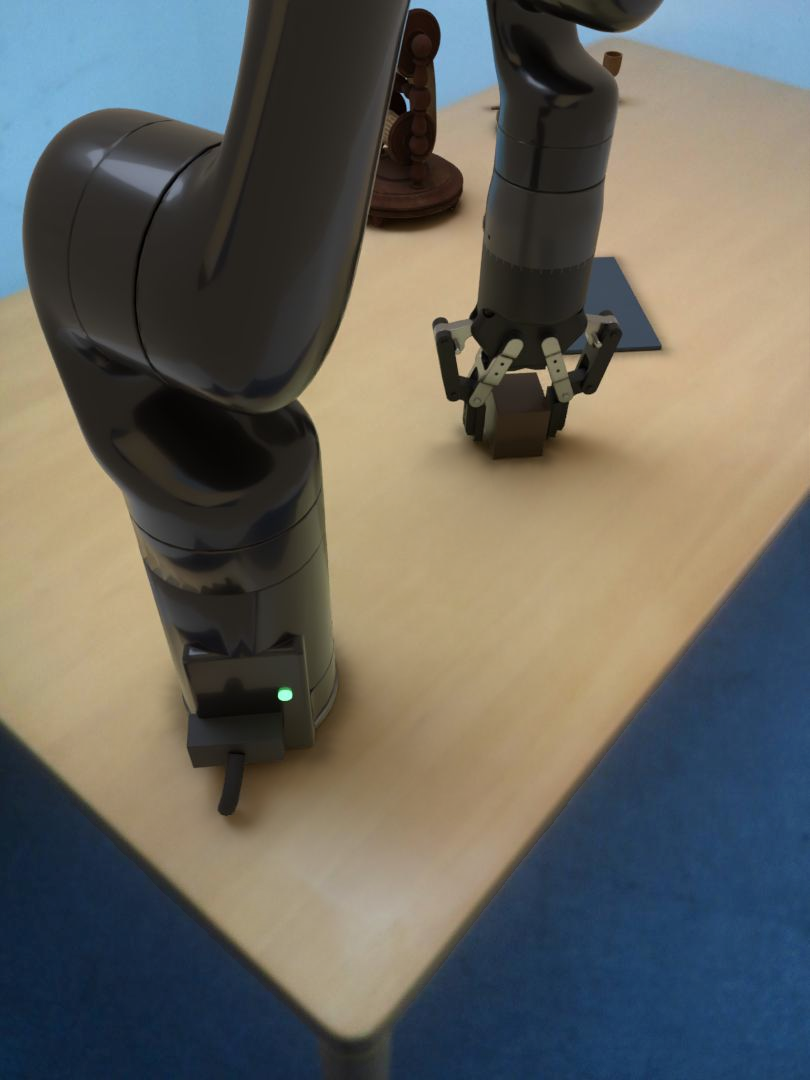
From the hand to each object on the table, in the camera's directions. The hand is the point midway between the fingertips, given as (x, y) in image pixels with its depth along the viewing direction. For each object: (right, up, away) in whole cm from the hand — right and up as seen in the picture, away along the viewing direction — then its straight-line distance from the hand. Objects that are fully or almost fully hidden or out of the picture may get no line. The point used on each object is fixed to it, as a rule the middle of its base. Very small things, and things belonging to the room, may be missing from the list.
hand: (512, 432), depth 70 cm
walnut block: (0, 0, 0) cm, 0 cm away
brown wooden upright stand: (-10, +30, +29) cm, 42 cm away
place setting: (+13, +45, +43) cm, 64 cm away
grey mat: (+8, +14, +14) cm, 21 cm away
